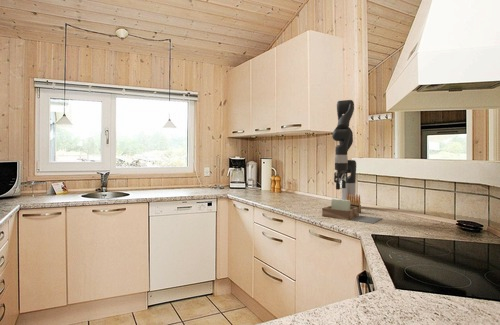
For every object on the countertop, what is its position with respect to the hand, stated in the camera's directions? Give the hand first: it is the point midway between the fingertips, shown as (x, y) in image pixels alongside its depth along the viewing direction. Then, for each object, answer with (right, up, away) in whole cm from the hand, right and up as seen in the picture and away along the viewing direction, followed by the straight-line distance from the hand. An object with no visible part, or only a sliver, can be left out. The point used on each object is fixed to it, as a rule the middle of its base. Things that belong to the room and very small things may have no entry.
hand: (340, 188), depth 198 cm
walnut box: (0, -17, +1) cm, 17 cm away
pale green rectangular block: (0, -17, +1) cm, 17 cm away
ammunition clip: (+12, -16, +14) cm, 24 cm away
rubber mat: (+12, -17, -10) cm, 23 cm away
